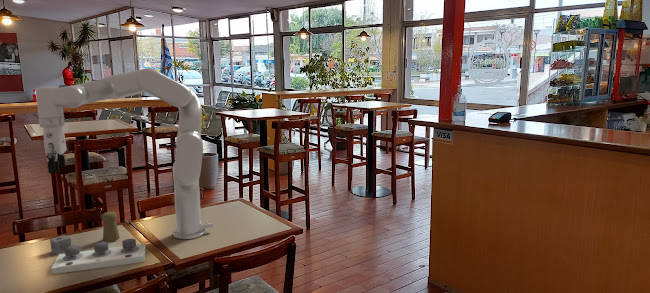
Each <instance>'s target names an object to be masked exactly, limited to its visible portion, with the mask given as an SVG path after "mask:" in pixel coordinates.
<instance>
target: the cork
mask: <svg viewBox="0 0 650 293" xmlns="http://www.w3.org/2000/svg"><path fill="white" fill-rule="evenodd" d="M117 217H118V215H117V213H116V212H114V211H107V212H104V213H103V214H102V215H101V220H102V222H103V231H102V242H103V241H104V242H110V243H115V242H117V241H116V240H118V239H119V238H120V239H121V237H120V232H119V228H118V226H117ZM120 239H119V240H120ZM119 240H118V241H119ZM114 241H115V242H114Z"/></svg>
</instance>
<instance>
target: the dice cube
mask: <svg viewBox="0 0 650 293" xmlns="http://www.w3.org/2000/svg"><path fill="white" fill-rule="evenodd" d="M49 242H50V248H51V253H52V254H54V255H56V256H58V255H59V254H64V253H65V248H66V247H68V246H72V240H71V237H69V236H67V235H66V234H63V235H60V236H56V237H52V238H50V239H49Z"/></svg>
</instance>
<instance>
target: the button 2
mask: <svg viewBox="0 0 650 293" xmlns="http://www.w3.org/2000/svg"><path fill="white" fill-rule="evenodd" d="M121 244H122V246H123V248H124V249H130V248H134V247H135V246H136V245H137V239H135V238H126V239H124V240H122V242H121Z"/></svg>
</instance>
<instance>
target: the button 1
mask: <svg viewBox="0 0 650 293" xmlns="http://www.w3.org/2000/svg"><path fill="white" fill-rule="evenodd" d="M80 251H81V249H80V246H79V245H78V244H77V245H71V246H68V247H66V248H65V255H66V256H73V255H77V254H79V253H80Z"/></svg>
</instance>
